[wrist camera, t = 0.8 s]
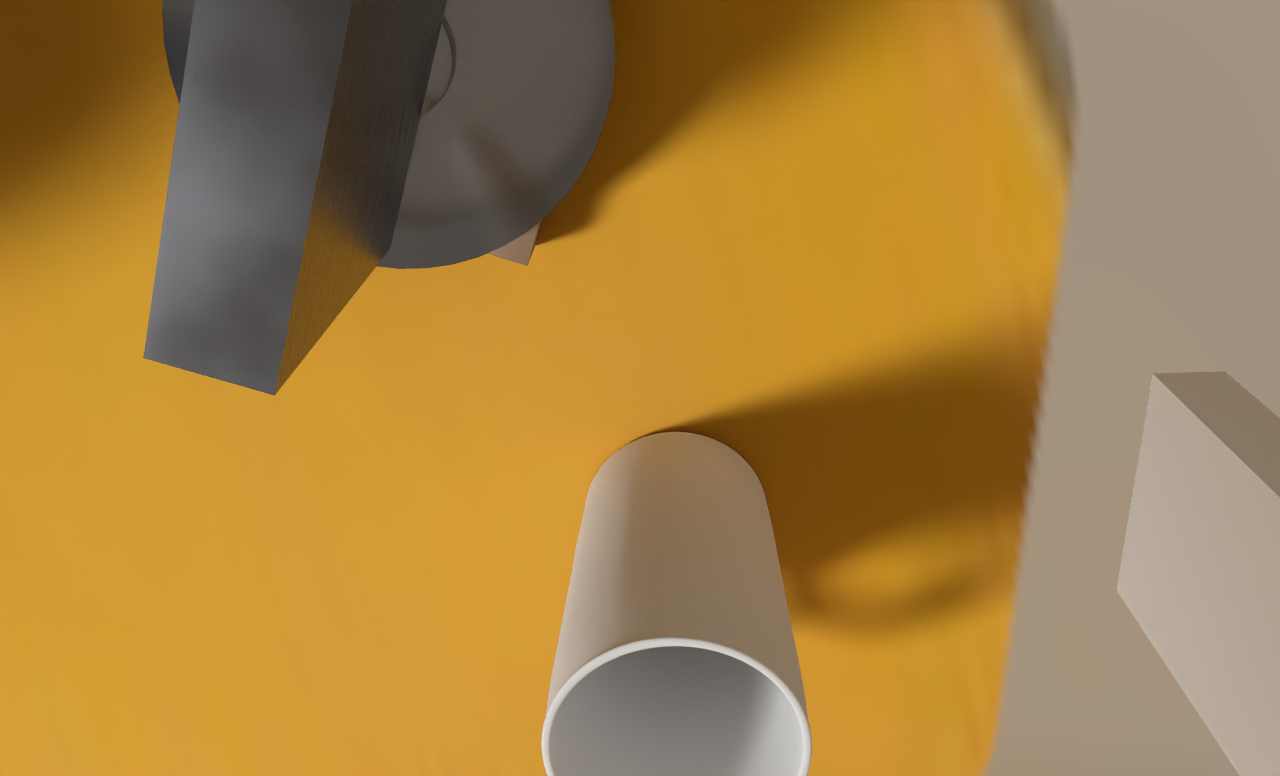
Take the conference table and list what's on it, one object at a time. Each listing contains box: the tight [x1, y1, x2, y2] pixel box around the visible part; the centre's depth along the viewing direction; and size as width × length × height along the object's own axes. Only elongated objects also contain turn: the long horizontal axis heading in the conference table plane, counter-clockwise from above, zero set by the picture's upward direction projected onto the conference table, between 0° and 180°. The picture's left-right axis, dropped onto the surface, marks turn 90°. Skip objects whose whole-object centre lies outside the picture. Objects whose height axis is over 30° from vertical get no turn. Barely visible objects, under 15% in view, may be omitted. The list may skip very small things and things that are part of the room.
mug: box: [542, 432, 812, 776], centre depth 35 cm, size 10×7×12 cm, turn 16°
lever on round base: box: [144, 0, 616, 395], centre depth 25 cm, size 12×12×13 cm
